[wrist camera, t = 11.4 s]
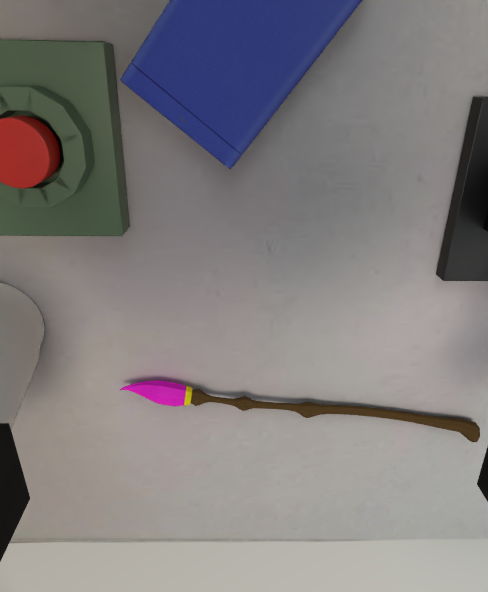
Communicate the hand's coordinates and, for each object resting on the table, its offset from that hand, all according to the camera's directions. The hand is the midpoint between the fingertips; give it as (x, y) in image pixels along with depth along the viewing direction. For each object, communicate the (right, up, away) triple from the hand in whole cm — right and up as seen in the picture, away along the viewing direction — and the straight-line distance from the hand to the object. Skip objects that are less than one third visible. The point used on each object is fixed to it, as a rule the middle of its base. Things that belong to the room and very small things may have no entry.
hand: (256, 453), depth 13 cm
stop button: (-12, +13, +13) cm, 22 cm away
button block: (-13, +14, +16) cm, 25 cm away
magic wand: (+5, -5, +26) cm, 27 cm away
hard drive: (0, +20, +14) cm, 24 cm away
